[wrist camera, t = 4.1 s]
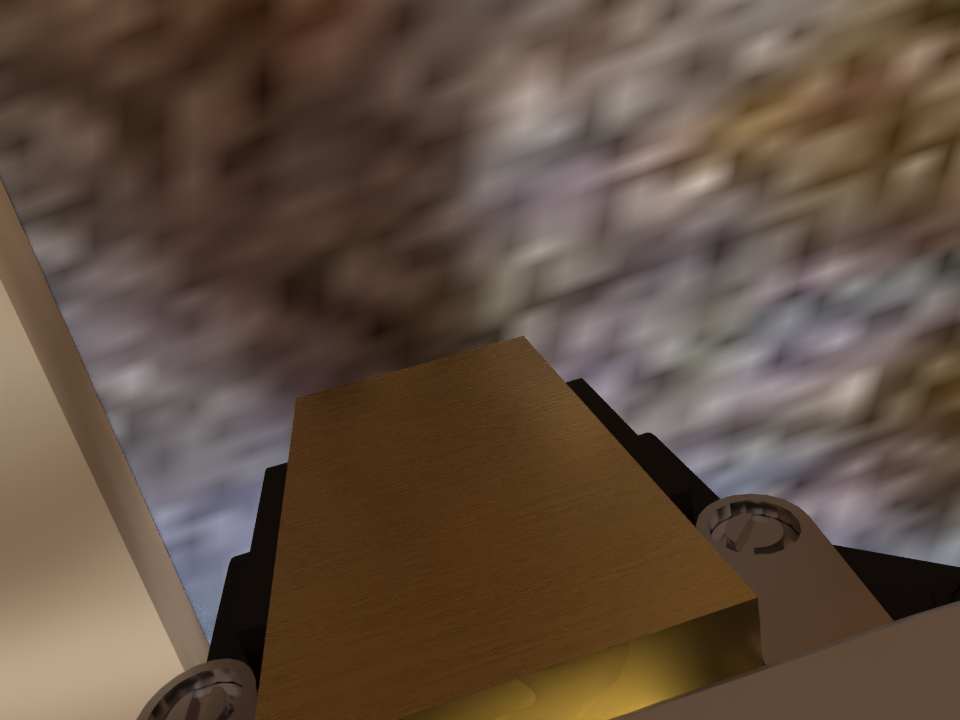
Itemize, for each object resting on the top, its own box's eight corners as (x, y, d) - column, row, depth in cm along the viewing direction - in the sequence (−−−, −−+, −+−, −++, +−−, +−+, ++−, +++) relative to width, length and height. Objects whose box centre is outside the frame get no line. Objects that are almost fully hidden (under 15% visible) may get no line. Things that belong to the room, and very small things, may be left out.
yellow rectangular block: (296, 398, 11) (247, 769, 5) (523, 335, 12) (758, 596, 5) (367, 602, 13) (402, 1086, 6) (564, 540, 13) (783, 933, 7)
